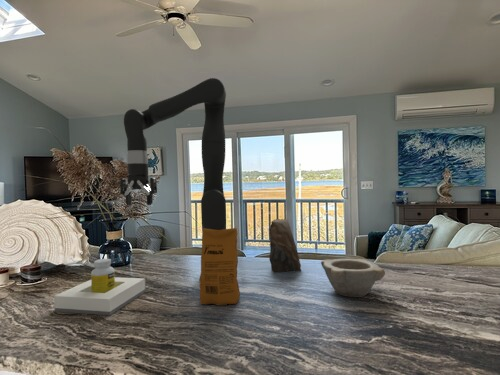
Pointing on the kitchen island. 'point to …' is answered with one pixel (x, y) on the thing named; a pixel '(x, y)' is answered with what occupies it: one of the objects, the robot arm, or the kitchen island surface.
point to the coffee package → (219, 267)
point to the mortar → (352, 275)
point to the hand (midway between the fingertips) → (139, 205)
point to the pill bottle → (102, 276)
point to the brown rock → (283, 248)
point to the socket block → (99, 297)
